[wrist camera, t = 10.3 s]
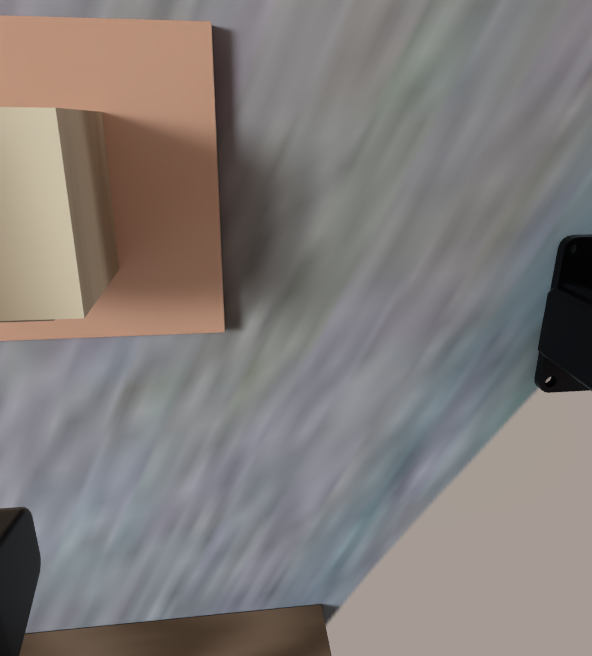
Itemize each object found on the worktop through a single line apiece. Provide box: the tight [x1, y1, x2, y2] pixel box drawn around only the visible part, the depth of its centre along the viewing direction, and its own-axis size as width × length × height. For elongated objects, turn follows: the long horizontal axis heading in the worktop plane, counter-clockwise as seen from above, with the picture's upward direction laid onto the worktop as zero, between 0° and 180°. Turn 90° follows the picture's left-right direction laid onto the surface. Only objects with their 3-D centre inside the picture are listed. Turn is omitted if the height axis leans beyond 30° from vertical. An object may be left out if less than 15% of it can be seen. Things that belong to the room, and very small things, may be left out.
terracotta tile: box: [0, 16, 225, 341], centre depth 18 cm, size 12×10×1 cm
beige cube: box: [0, 107, 119, 322], centre depth 15 cm, size 5×5×5 cm
